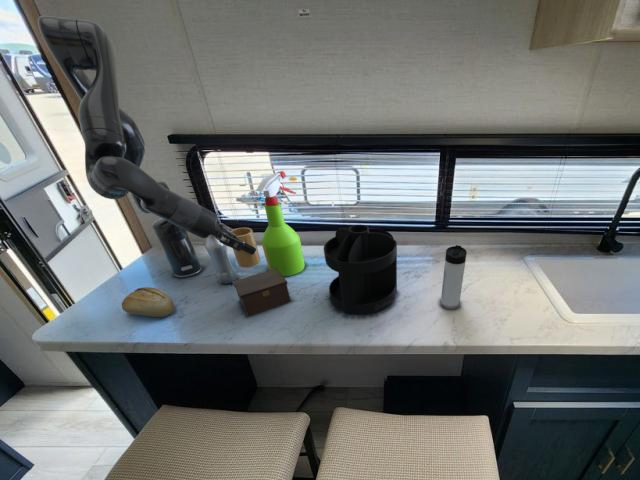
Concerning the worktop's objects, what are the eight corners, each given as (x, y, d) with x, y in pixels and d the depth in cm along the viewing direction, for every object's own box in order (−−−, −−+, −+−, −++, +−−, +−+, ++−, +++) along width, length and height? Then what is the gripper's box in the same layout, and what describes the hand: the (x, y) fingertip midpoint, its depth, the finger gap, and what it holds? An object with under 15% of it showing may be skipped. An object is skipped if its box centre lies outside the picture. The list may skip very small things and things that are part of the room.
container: (317, 309, 102) (304, 238, 88) (350, 275, 120) (343, 211, 105) (379, 324, 96) (376, 251, 82) (404, 286, 114) (405, 220, 99)
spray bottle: (319, 260, 130) (305, 171, 109) (287, 280, 117) (264, 183, 96) (294, 252, 135) (276, 166, 115) (261, 271, 122) (234, 177, 102)
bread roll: (141, 302, 105) (130, 281, 100) (184, 304, 104) (174, 284, 99) (118, 320, 97) (104, 299, 92) (164, 323, 96) (153, 301, 91)
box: (239, 301, 105) (231, 281, 101) (281, 287, 112) (276, 268, 108) (247, 317, 99) (240, 296, 94) (292, 301, 106) (287, 281, 101)
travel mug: (460, 299, 107) (468, 246, 96) (457, 310, 102) (465, 256, 91) (442, 296, 109) (448, 243, 97) (438, 306, 104) (444, 252, 92)
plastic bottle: (231, 286, 113) (212, 234, 101) (214, 284, 114) (194, 232, 102) (242, 277, 118) (225, 227, 106) (226, 275, 119) (208, 225, 107)
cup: (235, 261, 97) (225, 230, 91) (257, 255, 100) (248, 225, 94) (241, 269, 93) (231, 238, 87) (263, 263, 96) (254, 233, 90)
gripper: (205, 213, 77) (265, 245, 89) (195, 198, 86) (251, 229, 99) (188, 239, 77) (251, 267, 90) (181, 221, 87) (238, 248, 99)
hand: (251, 247), depth 94 cm, fingers closed on cup, 6 cm apart
